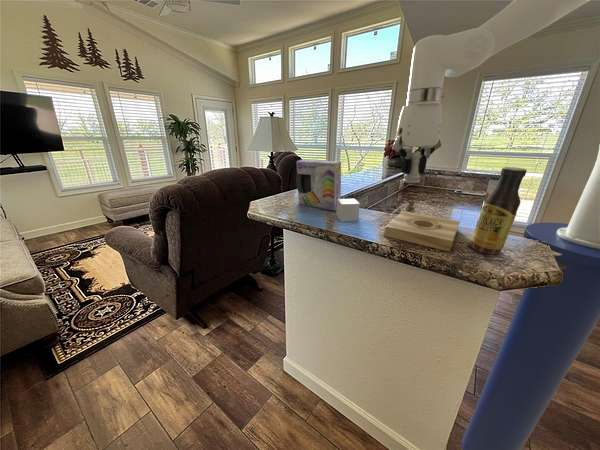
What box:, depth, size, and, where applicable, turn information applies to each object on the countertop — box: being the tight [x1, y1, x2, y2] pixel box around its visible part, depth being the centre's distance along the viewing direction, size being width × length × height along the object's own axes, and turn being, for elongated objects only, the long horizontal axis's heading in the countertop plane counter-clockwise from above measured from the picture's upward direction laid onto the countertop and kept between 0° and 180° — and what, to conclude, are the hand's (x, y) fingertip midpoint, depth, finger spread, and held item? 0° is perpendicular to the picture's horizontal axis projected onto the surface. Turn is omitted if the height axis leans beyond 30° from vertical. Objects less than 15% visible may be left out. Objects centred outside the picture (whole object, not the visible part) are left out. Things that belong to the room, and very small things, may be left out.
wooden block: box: [384, 210, 461, 253], centre depth 67 cm, size 16×16×3 cm
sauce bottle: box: [470, 166, 528, 255], centre depth 54 cm, size 7×6×20 cm
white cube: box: [335, 197, 361, 222], centre depth 79 cm, size 6×6×6 cm
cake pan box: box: [295, 158, 342, 212], centre depth 90 cm, size 19×5×18 cm, turn 48°
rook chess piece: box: [402, 151, 422, 184], centre depth 65 cm, size 4×4×8 cm
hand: (412, 172), depth 65 cm, fingers closed on rook chess piece, 3 cm apart
